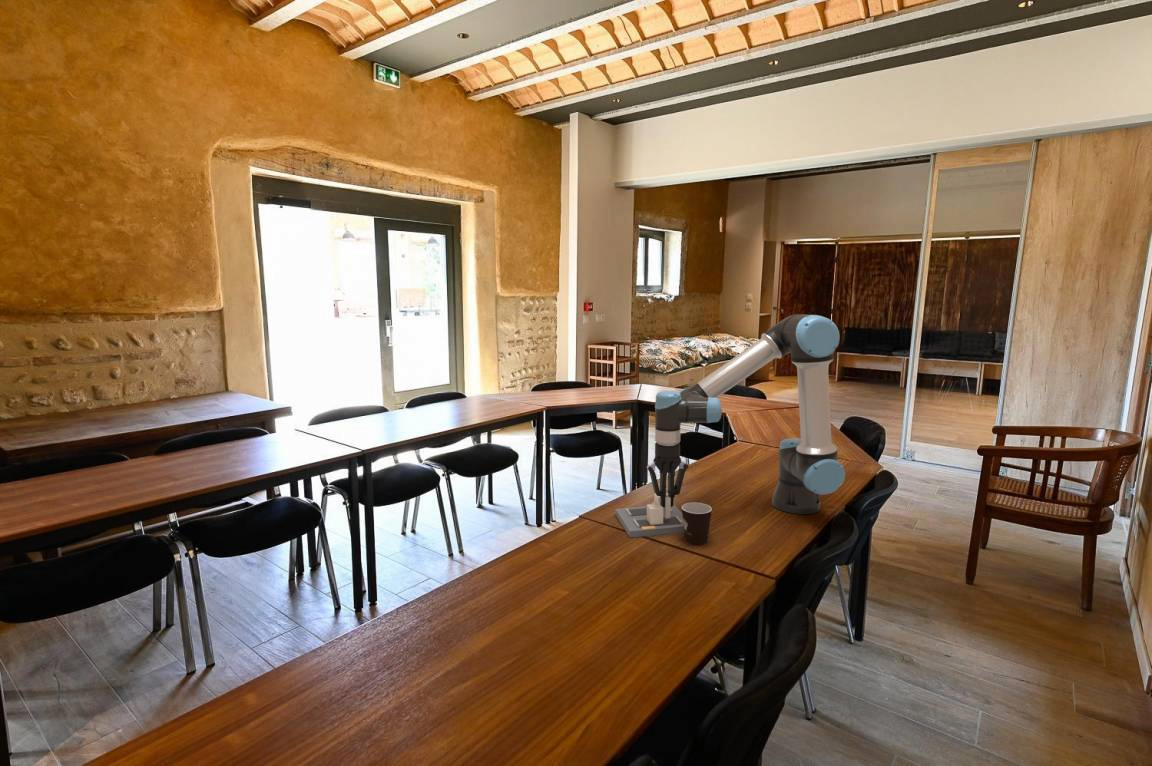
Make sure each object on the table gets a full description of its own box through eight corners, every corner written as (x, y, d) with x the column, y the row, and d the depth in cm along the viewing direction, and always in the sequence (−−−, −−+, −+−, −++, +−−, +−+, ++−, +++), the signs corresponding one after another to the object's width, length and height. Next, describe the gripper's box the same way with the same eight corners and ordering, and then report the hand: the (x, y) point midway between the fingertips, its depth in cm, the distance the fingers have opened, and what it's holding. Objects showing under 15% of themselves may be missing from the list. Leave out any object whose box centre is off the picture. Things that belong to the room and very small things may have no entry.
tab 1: (665, 506, 186) (665, 489, 185) (669, 511, 182) (669, 494, 181) (654, 507, 185) (654, 490, 184) (657, 512, 181) (658, 495, 180)
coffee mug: (711, 548, 161) (712, 514, 159) (680, 545, 163) (681, 512, 161) (711, 531, 172) (711, 499, 170) (682, 529, 174) (682, 498, 172)
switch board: (673, 509, 189) (673, 502, 189) (693, 531, 172) (693, 523, 171) (615, 514, 186) (615, 507, 186) (630, 537, 168) (630, 529, 168)
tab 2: (659, 518, 176) (659, 500, 175) (663, 523, 172) (663, 505, 171) (646, 519, 176) (646, 501, 175) (650, 524, 172) (650, 506, 171)
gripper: (683, 438, 175) (682, 510, 179) (643, 440, 173) (642, 513, 177) (692, 444, 168) (691, 519, 172) (650, 447, 166) (650, 523, 170)
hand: (666, 516), depth 174 cm, fingers closed
